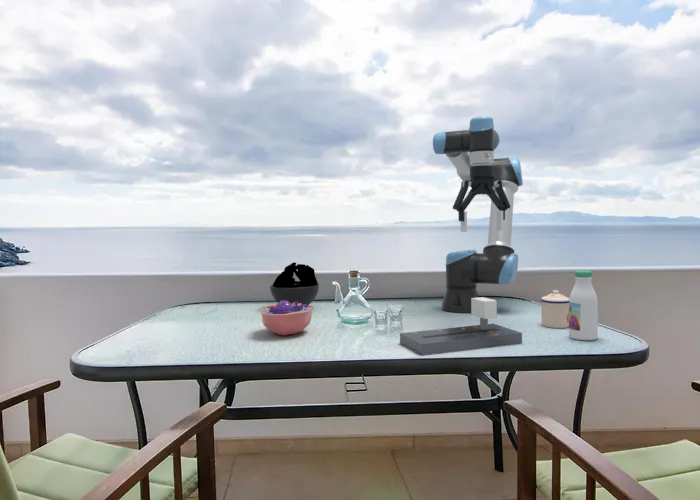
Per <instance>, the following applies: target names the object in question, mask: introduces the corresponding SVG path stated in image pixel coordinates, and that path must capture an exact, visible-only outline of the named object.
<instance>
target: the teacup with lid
mask: <svg viewBox="0 0 700 500" xmlns="http://www.w3.org/2000/svg"><path fill="white" fill-rule="evenodd" d="M569 299H570V297H568V296H565V295H564V294H561V293H560V290H557V289H556V290H555V289H554V290H552V293H549V294H547V295H544V296H542V297H541V298H540V300H541V326H543V327H546V328H550V329H566V328H569Z"/></svg>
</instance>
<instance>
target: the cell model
mask: <svg viewBox="0 0 700 500" xmlns="http://www.w3.org/2000/svg"><path fill="white" fill-rule="evenodd" d="M260 310H261V312H260V314H261V322H262V325H263V326H264V327H265V328H266V330H268V331H269V332H271V333H275V334H277V335H279V336H290V335H289V334H292V335H295V334H299V333H300V332H302V331H304V330H305V329H306V328H307V327H308V326H309V325H310V324H311V322H312V314H313V308H312V306H311V305H310V304H309V305H308V304H301V303H300V304H299V303H298V301H295V303H292V304H291V303H290V302H288V301H280V302H279V303H277V302H276V304H271V305H268V306H263V307H261V309H260Z"/></svg>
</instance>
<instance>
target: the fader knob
mask: <svg viewBox="0 0 700 500" xmlns="http://www.w3.org/2000/svg"><path fill="white" fill-rule="evenodd" d="M497 302H498V301H497V300H496V299H492V298H488V297H484V296H481V297H478V298H471V312H470V314H471V316H475V317H478V318H479V325H480V329H483V330H485V329H488V324H489V319H497V315H498V314H497V311H498V309H497V307H498V305H497V304H498V303H497Z"/></svg>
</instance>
